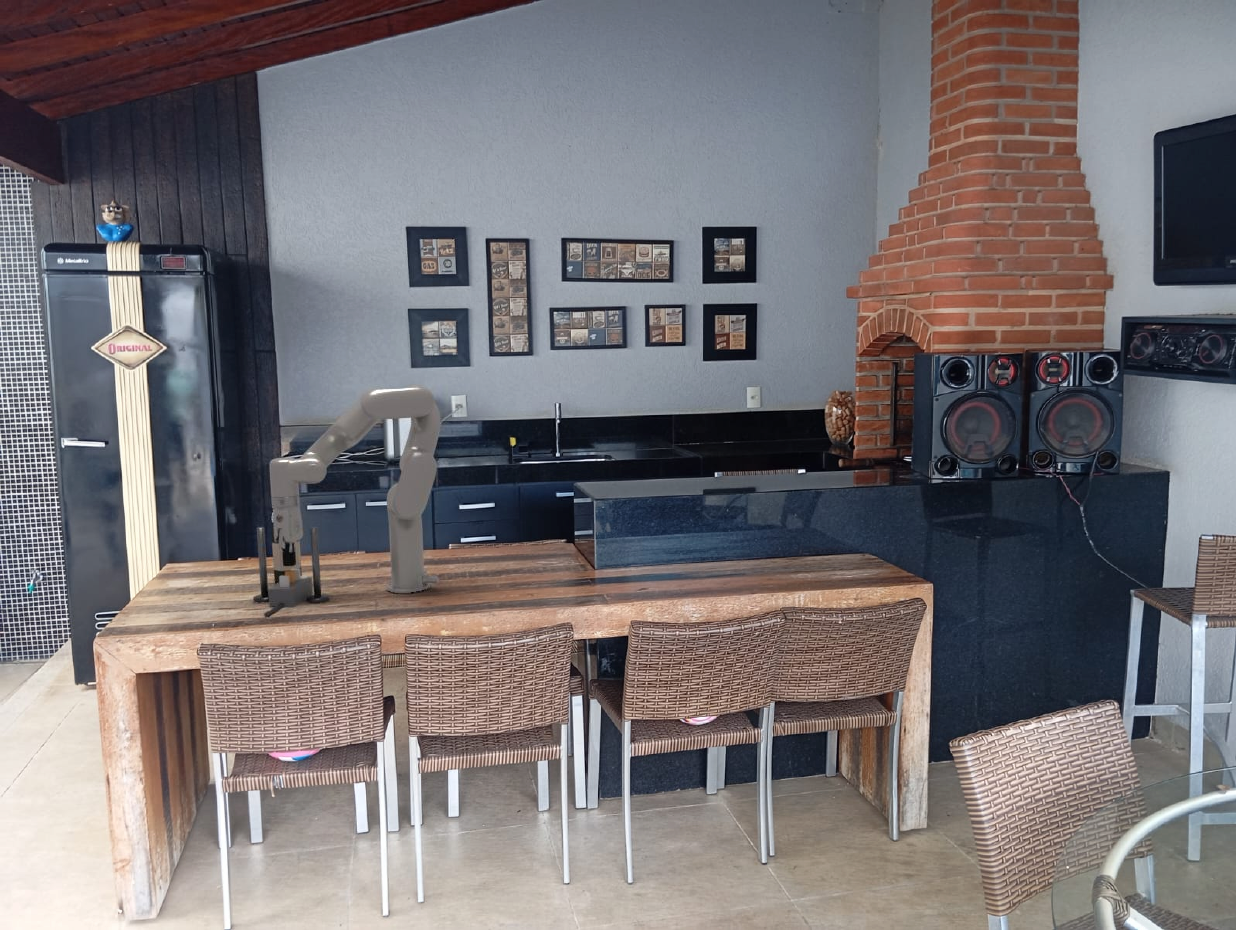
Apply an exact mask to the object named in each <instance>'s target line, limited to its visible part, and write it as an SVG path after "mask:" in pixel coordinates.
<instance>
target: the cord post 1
mask: <svg viewBox="0 0 1236 930" xmlns="http://www.w3.org/2000/svg"><path fill="white" fill-rule="evenodd" d="M265 535H266V534H265V527H264V526H258V527H256V536H257V539H256V540H257V552H258V553H257V554H258V565H259V580H260V584H259V585H260V594H257V595H254V596H253V598H252V599H253V600H252V601H254V603H255V602H268V603H269V591H268V589H269V583H268V567H267V550H266V536H265Z"/></svg>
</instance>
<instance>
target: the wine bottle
mask: <svg viewBox="0 0 1236 930" xmlns="http://www.w3.org/2000/svg"><path fill="white" fill-rule="evenodd" d="M300 540H301V539H299V540H297V542H296V550H295V553H296V565H294V566H283V556H282V551H281V549H280V548H279V543H276V542H275V539H274V524H273V525H272V527H271V545H272V546H271V547H272V549H271V550H272V563H273V577H274V584H276V583H279V576H285V572H286V571H291V569H300V574H301V576H303V575H302V559H301V557H302V555H301V543H300Z"/></svg>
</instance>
